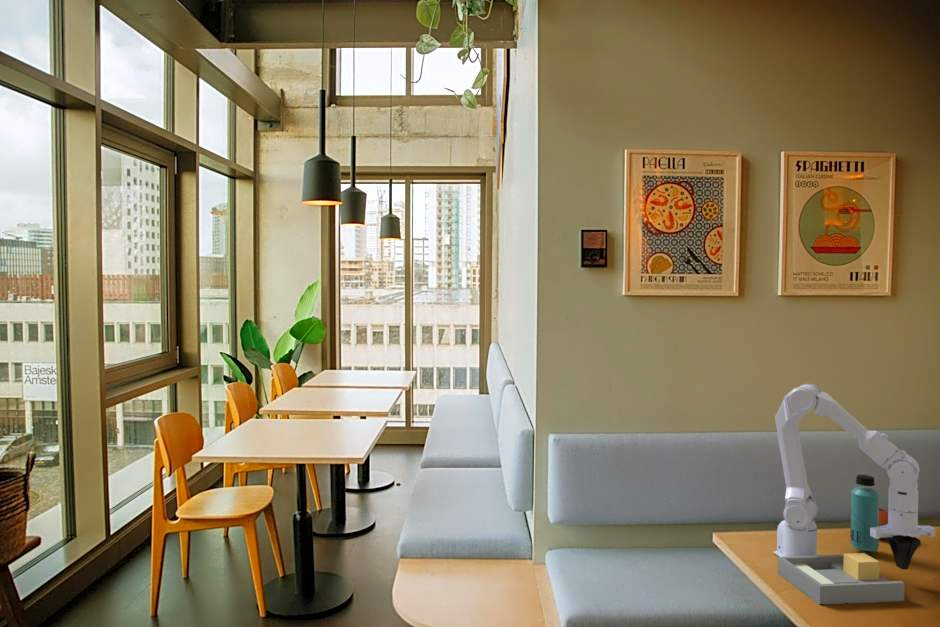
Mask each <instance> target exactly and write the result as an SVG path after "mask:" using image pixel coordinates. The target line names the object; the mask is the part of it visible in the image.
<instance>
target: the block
mask: <svg viewBox="0 0 940 627" xmlns="http://www.w3.org/2000/svg"><path fill="white" fill-rule="evenodd" d="M843 555H844V564H843V571H845V572H846V573H848V574H849V575H851V576H853V577H854V578H856V579H857V580H871V579H879V575H880V561H879V560H877V559H875V558H873V557H872V556H870V555H868V554H867V553H865V552H855V553H854V552H853V553H843Z"/></svg>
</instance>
